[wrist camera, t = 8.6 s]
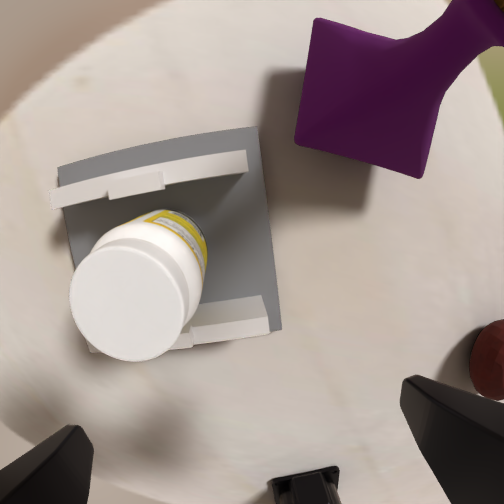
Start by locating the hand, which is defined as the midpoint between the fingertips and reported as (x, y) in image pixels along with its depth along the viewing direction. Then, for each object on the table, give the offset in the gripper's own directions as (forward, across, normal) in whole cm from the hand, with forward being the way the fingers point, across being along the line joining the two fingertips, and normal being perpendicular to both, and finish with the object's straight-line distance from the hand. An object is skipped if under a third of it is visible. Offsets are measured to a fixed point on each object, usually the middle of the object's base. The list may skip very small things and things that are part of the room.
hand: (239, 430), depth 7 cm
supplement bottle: (+11, +3, -3) cm, 12 cm away
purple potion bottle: (+12, -9, -10) cm, 18 cm away
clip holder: (+12, +3, -3) cm, 13 cm away
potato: (+13, -22, +12) cm, 28 cm away
